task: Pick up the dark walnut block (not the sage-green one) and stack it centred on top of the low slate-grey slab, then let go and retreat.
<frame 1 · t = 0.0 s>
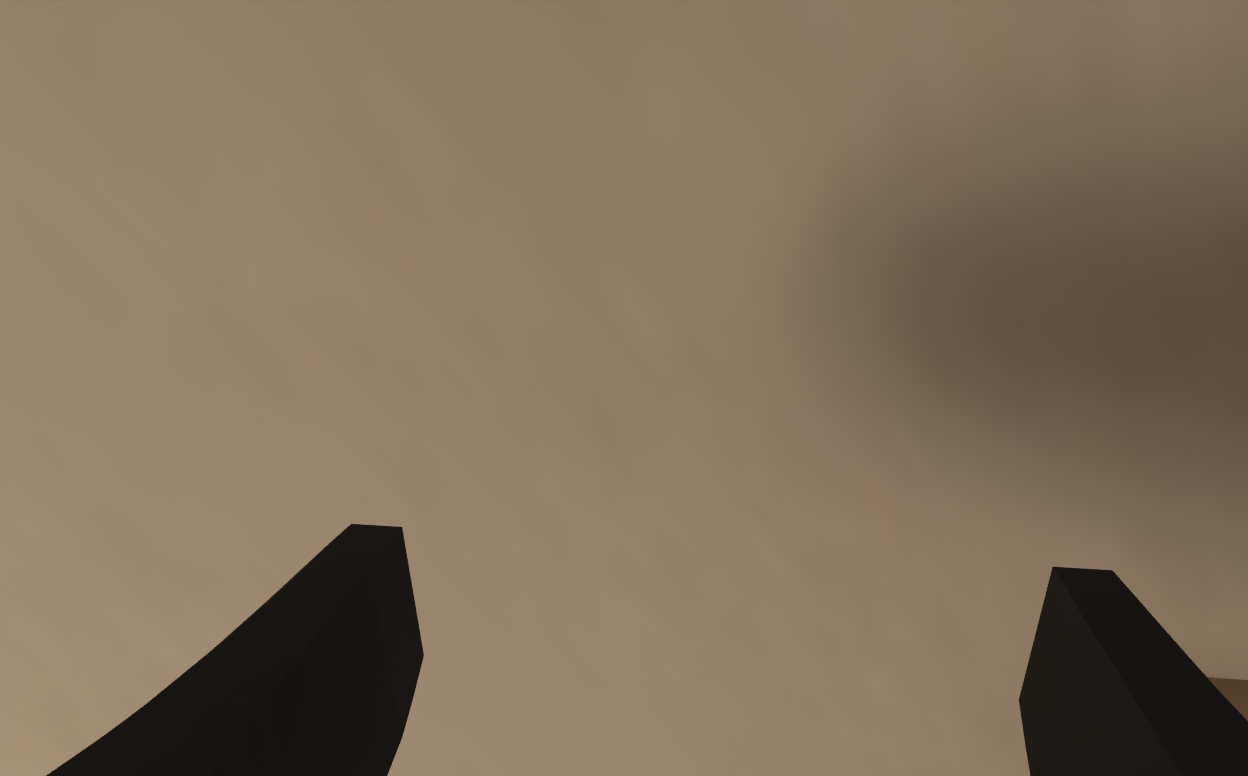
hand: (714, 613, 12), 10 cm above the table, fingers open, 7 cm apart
walnut block: (1208, 742, 26), on the table
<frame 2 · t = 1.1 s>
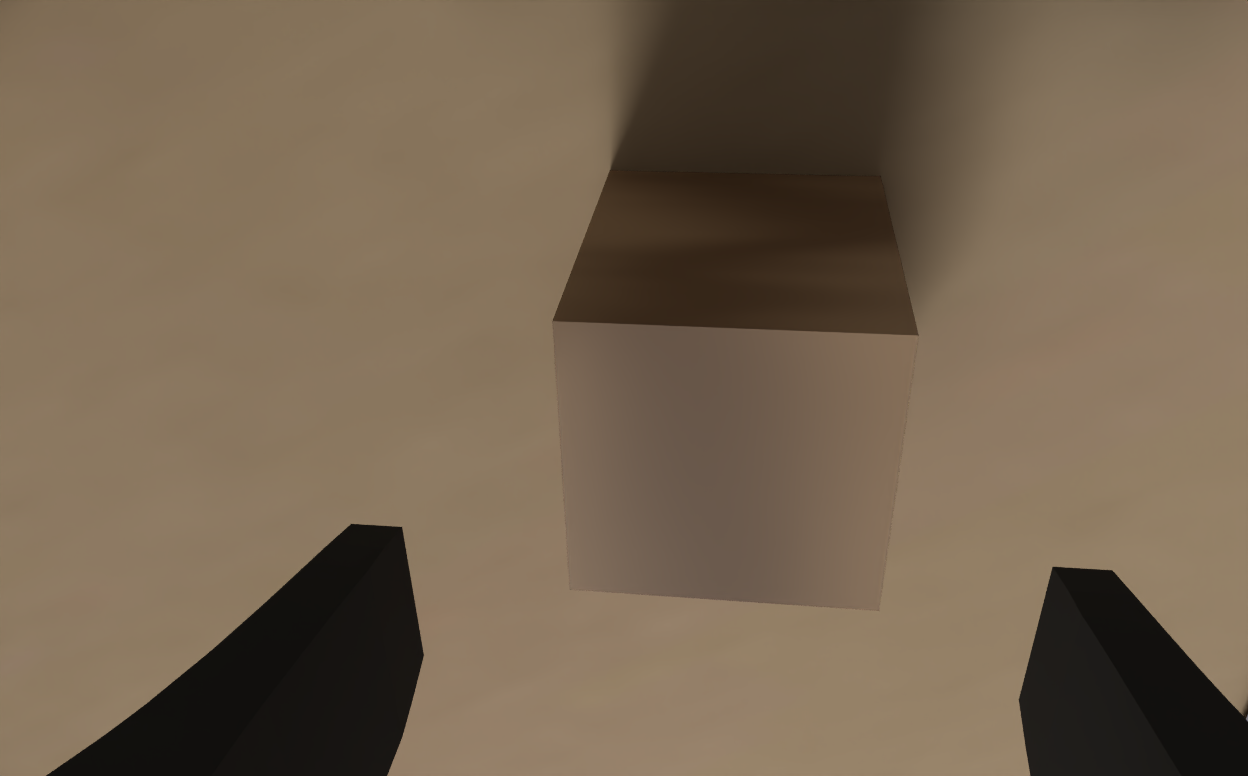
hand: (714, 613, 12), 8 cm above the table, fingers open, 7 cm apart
walnut block: (738, 293, 19), on the table
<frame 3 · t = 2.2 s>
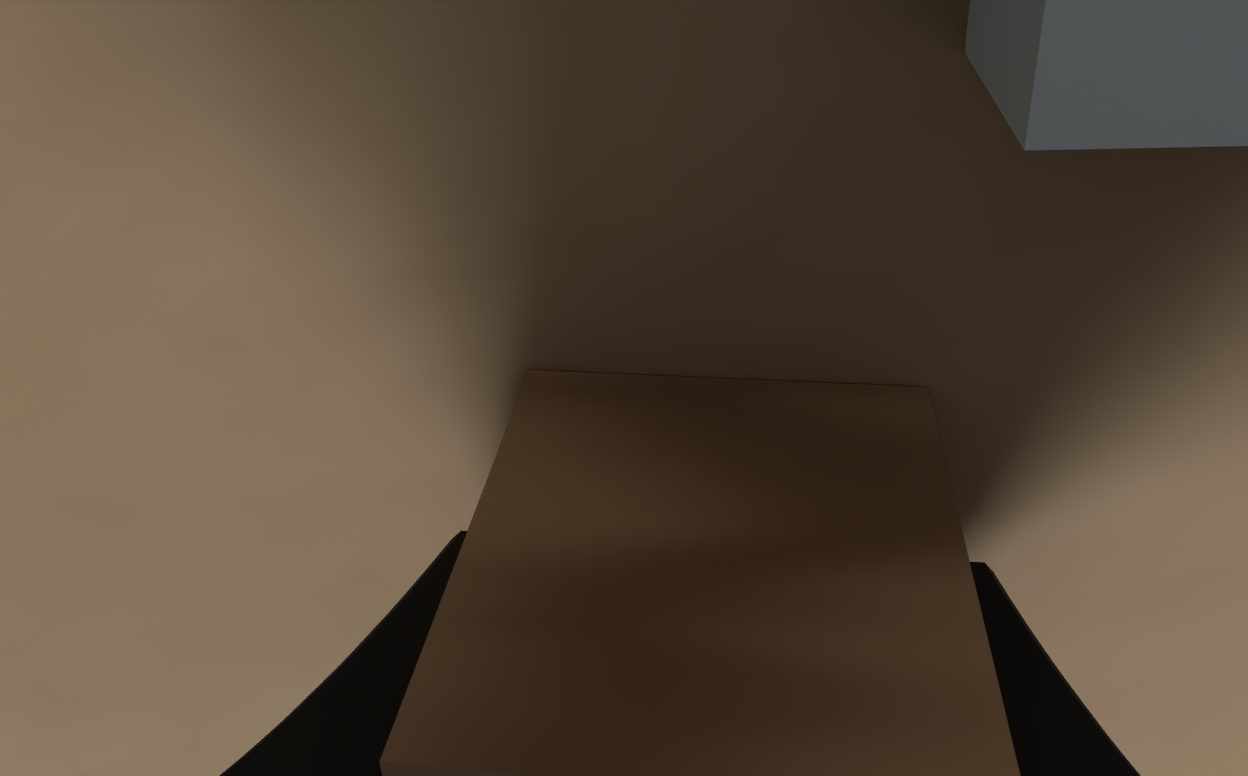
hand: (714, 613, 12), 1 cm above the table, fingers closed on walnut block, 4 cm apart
walnut block: (719, 532, 13), on the table, touching gripper
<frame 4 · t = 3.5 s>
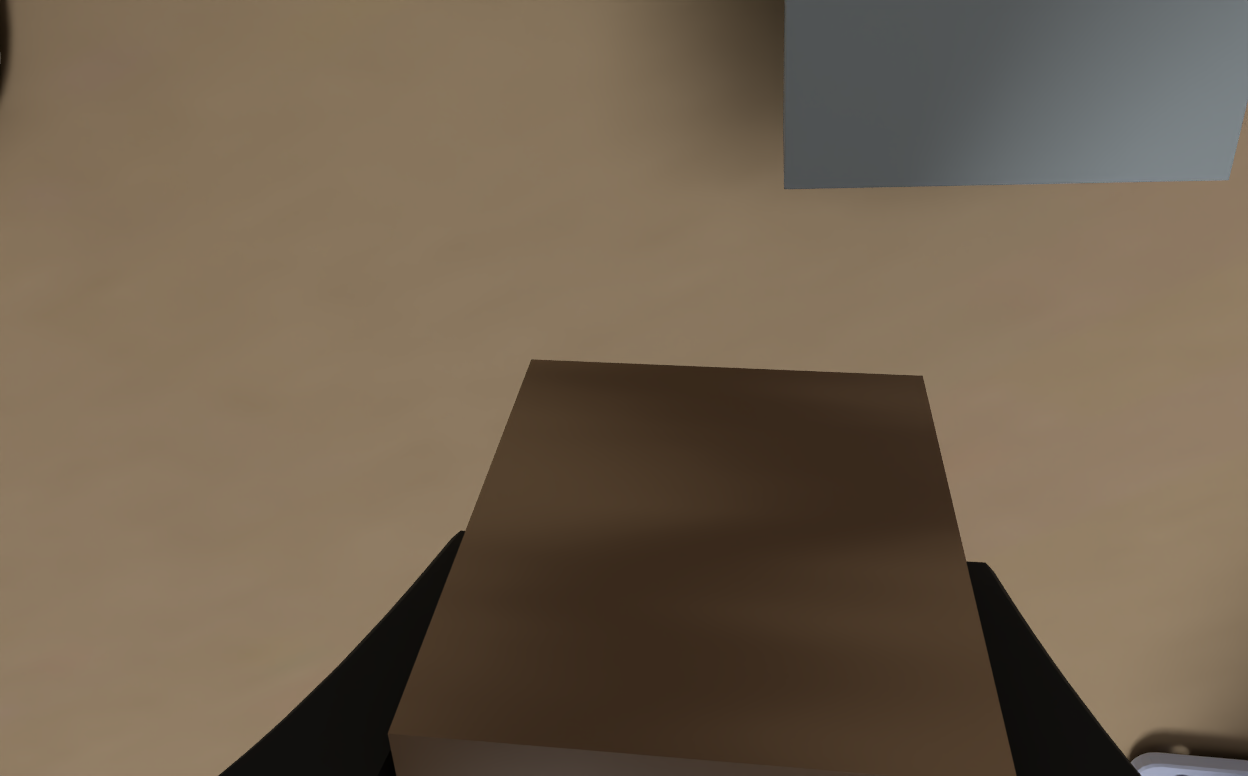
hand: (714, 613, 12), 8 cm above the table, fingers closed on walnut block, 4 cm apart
walnut block: (717, 520, 13), point 7 cm above the table, touching gripper
when the fingers open (6 cm above the table, at t = 4.8 s): walnut block drops 1 cm, resting on slate slab.
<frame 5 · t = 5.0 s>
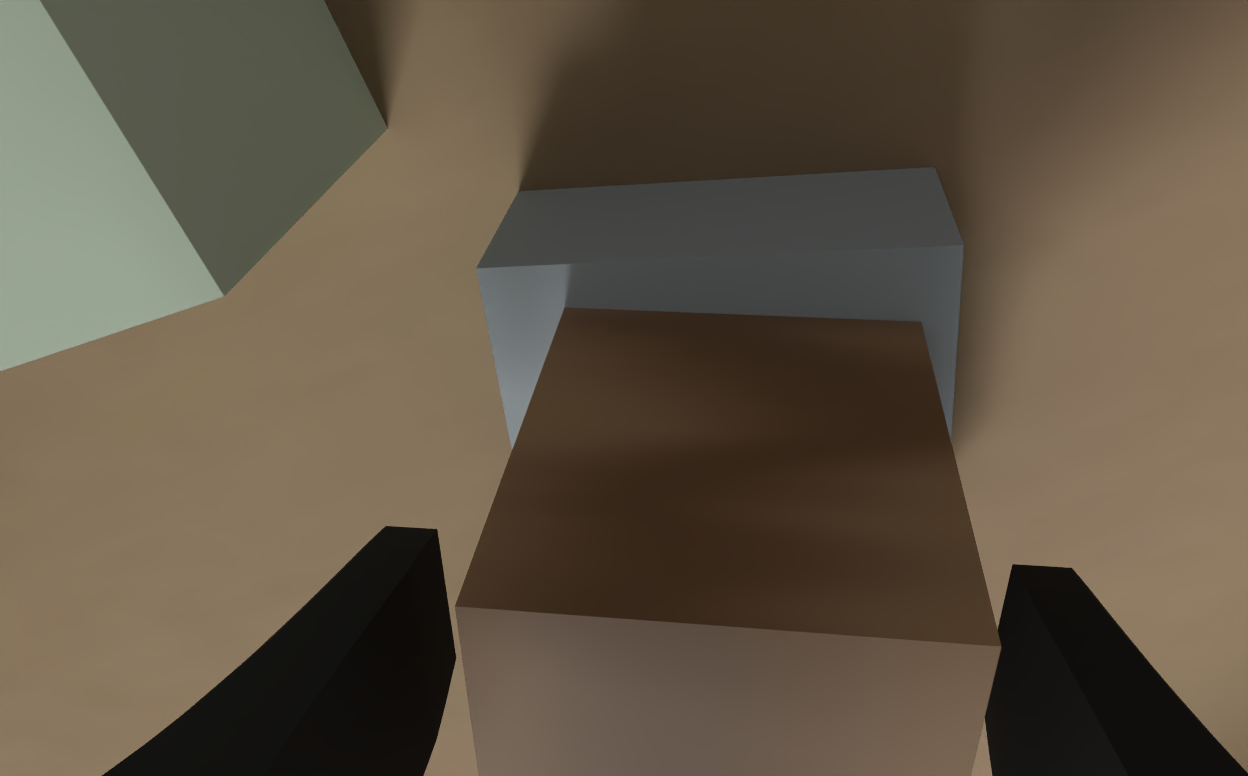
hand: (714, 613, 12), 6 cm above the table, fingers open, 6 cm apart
walnut block: (733, 458, 15), point 3 cm above the table, touching slate slab
slate slab: (731, 348, 17), on the table, touching walnut block
sage block: (180, 31, 15), on the table
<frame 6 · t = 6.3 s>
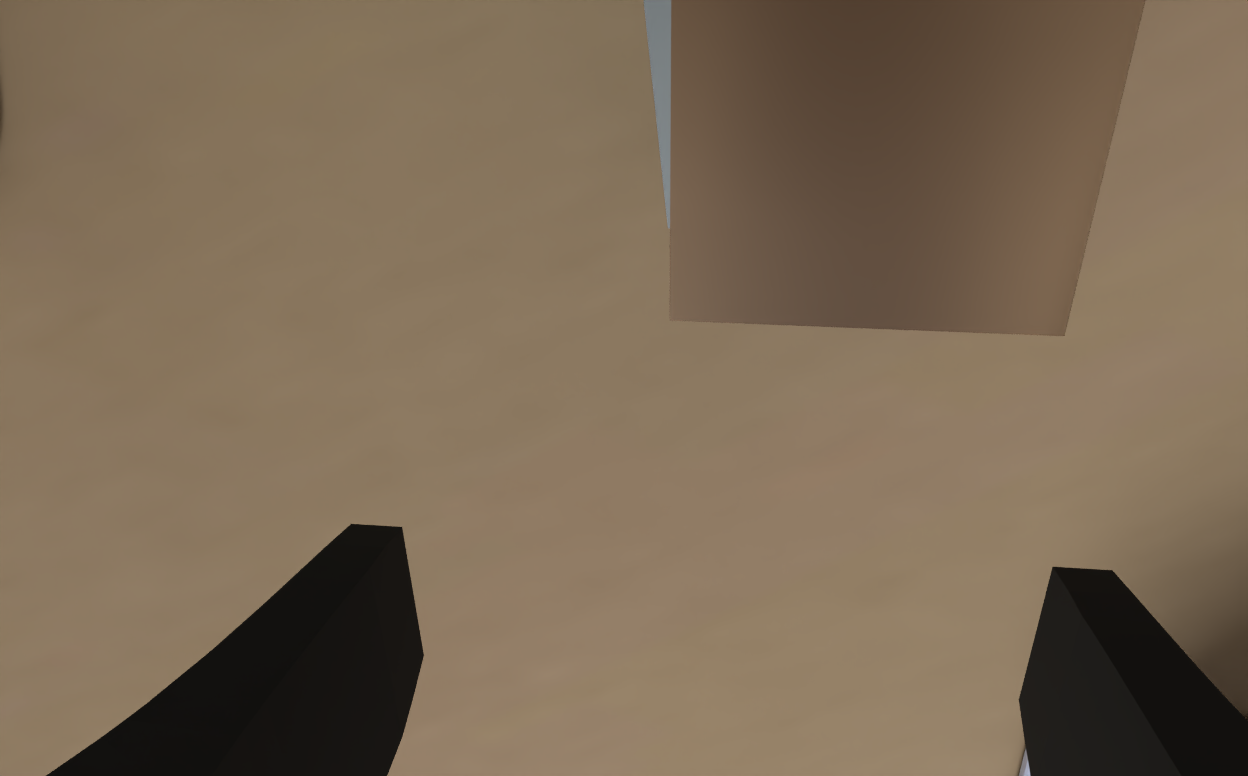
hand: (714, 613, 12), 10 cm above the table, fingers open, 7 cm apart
walnut block: (851, 11, 16), point 3 cm above the table, touching slate slab
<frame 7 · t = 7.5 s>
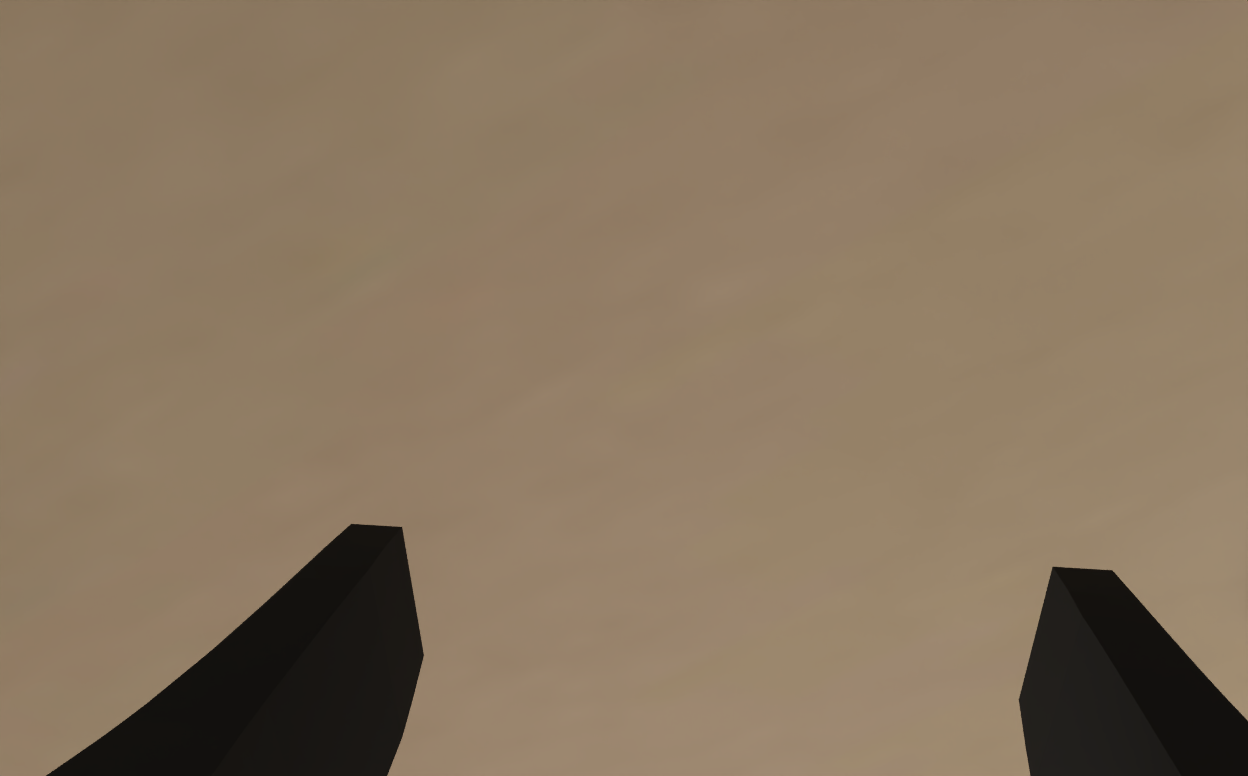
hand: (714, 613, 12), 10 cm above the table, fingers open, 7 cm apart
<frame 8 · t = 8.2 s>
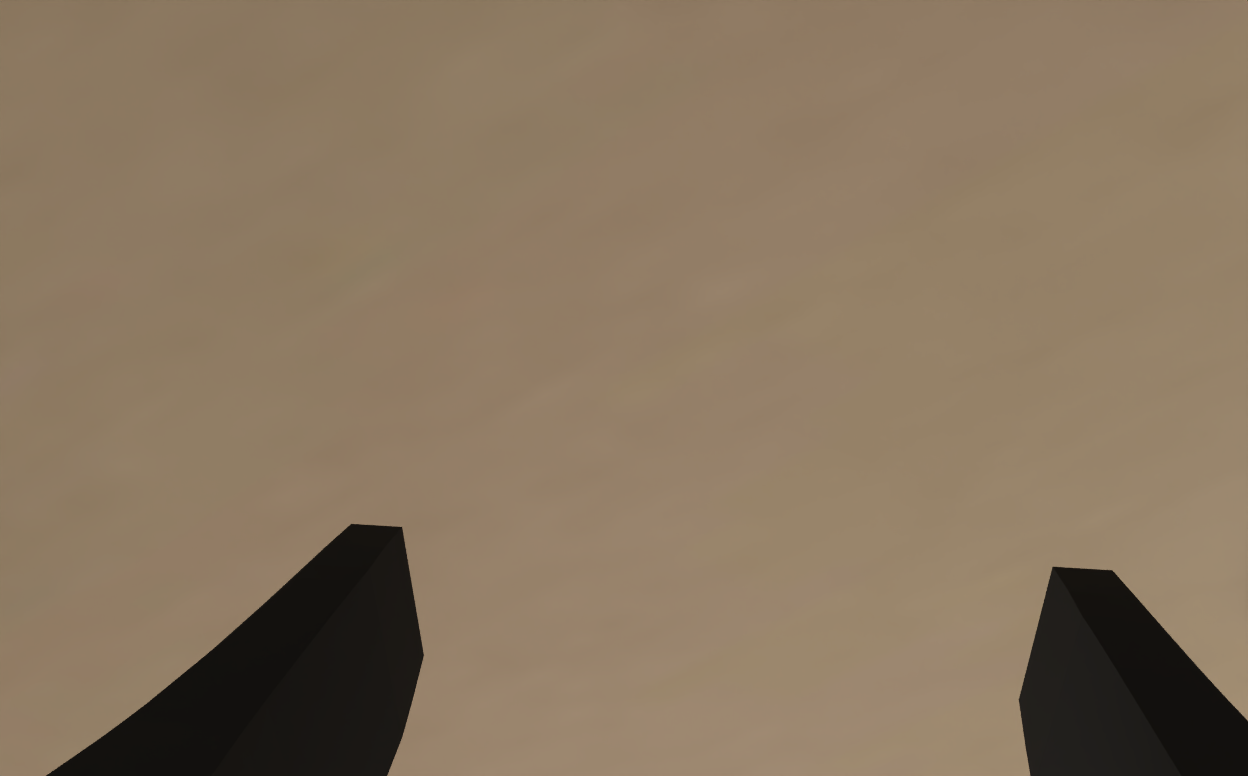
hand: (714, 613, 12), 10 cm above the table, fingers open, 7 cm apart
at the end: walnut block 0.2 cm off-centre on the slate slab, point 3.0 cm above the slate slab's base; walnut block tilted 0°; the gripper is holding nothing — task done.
